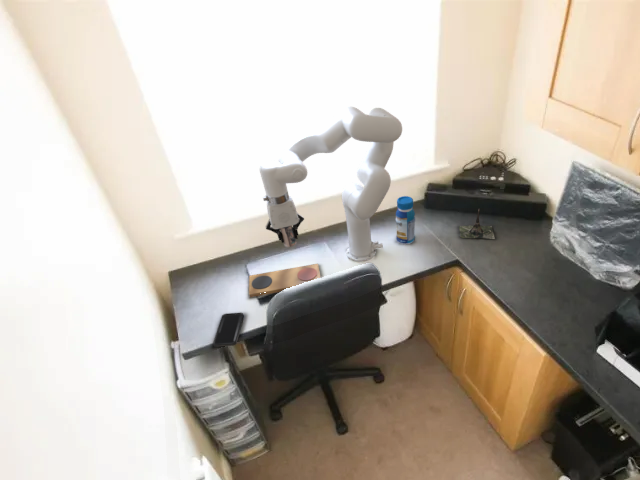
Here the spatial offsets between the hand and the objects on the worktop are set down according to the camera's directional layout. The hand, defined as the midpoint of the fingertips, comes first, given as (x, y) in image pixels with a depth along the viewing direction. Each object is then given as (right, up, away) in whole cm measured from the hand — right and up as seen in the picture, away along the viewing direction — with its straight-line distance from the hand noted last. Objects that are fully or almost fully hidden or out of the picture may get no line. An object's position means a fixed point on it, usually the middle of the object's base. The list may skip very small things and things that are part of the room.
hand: (289, 238), depth 159 cm
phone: (-18, -34, -12) cm, 41 cm away
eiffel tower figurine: (+78, +6, +27) cm, 83 cm away
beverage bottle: (+46, +2, +26) cm, 53 cm away
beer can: (0, -2, +2) cm, 3 cm away
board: (-3, -16, +7) cm, 18 cm away
